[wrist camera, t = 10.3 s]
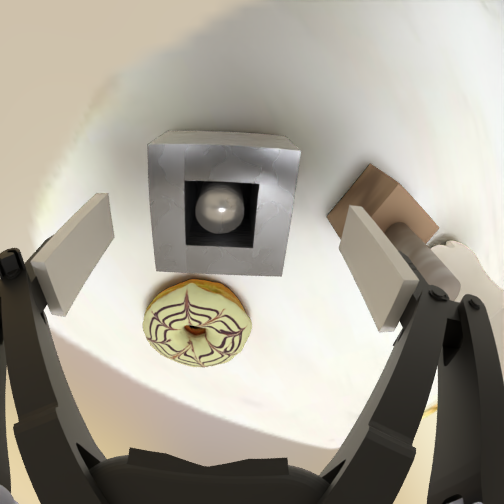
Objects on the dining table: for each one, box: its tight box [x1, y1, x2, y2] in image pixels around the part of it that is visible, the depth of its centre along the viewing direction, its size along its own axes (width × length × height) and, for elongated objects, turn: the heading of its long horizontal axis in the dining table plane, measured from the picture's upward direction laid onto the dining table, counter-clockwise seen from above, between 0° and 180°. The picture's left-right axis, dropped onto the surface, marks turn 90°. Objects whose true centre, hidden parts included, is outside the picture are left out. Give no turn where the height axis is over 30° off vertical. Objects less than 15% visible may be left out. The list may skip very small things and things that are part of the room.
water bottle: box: [431, 240, 504, 381], centre depth 17 cm, size 7×7×25 cm
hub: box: [195, 181, 252, 234], centre depth 19 cm, size 6×6×6 cm
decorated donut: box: [143, 279, 252, 367], centre depth 28 cm, size 10×11×4 cm
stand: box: [327, 164, 461, 301], centre depth 19 cm, size 6×6×12 cm
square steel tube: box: [148, 131, 301, 276], centre depth 18 cm, size 8×8×5 cm
